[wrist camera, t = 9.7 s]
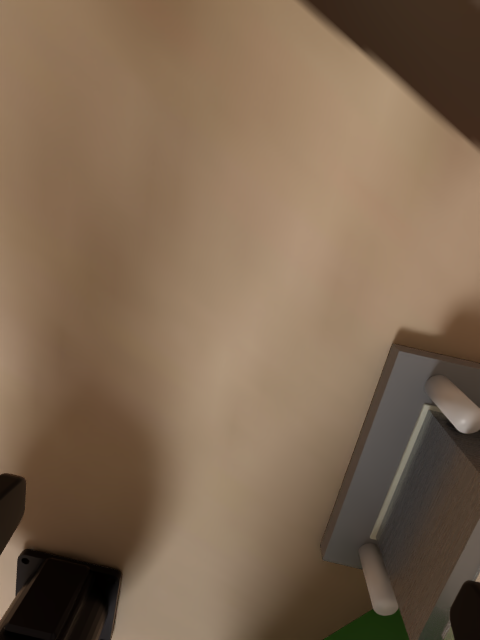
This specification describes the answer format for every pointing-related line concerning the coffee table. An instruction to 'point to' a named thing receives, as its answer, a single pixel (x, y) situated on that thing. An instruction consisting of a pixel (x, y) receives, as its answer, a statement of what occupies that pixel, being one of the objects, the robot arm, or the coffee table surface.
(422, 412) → the panel with knobs
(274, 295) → the coffee table surface
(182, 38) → the coffee table surface
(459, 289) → the coffee table surface
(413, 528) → the drive
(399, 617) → the hardback book
